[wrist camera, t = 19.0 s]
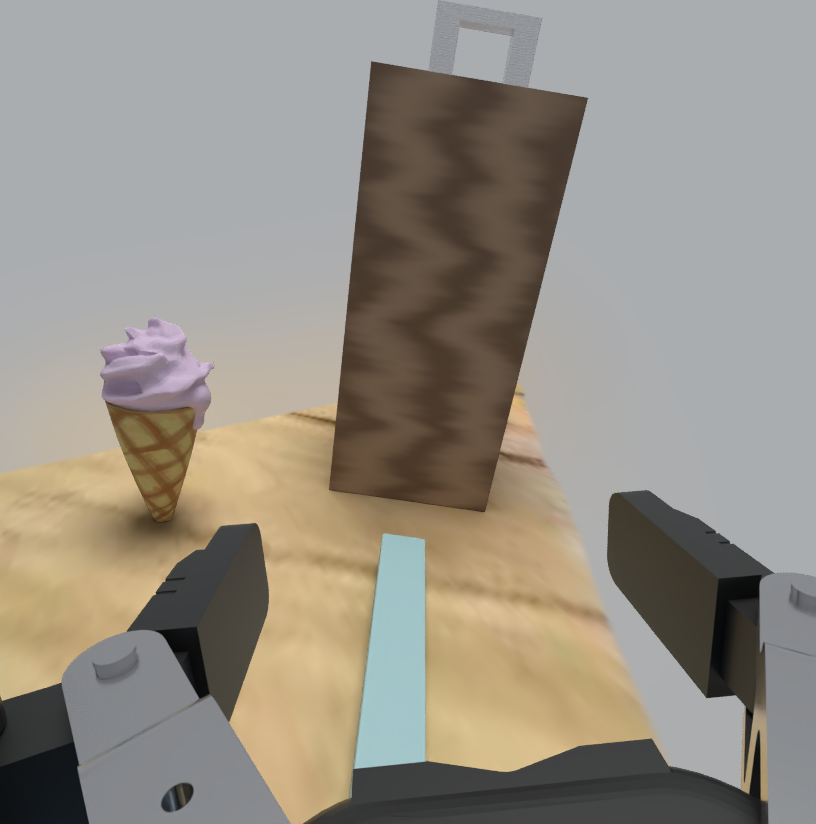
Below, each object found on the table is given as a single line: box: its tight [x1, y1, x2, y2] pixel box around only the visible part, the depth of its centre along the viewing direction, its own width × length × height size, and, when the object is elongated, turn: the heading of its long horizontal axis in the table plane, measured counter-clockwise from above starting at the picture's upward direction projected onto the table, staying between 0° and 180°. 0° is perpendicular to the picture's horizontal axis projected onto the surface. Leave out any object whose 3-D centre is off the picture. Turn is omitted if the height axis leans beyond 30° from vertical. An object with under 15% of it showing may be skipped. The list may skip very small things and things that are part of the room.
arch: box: [429, 1, 542, 88], centre depth 33 cm, size 7×2×4 cm, turn 88°
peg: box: [349, 533, 425, 798], centre depth 25 cm, size 24×3×3 cm, turn 178°
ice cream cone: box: [100, 317, 214, 522], centre depth 34 cm, size 7×6×15 cm
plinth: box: [329, 62, 588, 512], centre depth 43 cm, size 14×12×32 cm
